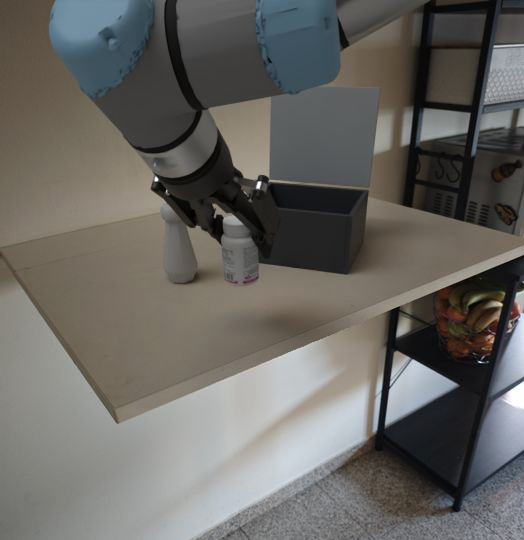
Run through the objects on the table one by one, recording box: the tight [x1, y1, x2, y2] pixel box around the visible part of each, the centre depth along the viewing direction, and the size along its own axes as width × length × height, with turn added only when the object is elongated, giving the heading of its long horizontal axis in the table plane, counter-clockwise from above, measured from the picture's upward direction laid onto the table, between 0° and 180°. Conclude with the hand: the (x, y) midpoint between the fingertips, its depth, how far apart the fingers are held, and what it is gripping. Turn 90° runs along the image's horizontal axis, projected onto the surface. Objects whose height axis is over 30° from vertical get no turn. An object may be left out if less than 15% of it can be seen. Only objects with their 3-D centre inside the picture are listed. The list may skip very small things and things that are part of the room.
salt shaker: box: [159, 202, 199, 284], centre depth 82 cm, size 6×6×13 cm
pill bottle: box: [220, 214, 260, 288], centre depth 65 cm, size 5×5×8 cm
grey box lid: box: [268, 85, 382, 189], centre depth 91 cm, size 16×20×1 cm
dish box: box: [258, 181, 370, 275], centre depth 92 cm, size 16×20×10 cm
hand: (250, 247), depth 69 cm, fingers closed on pill bottle, 5 cm apart
